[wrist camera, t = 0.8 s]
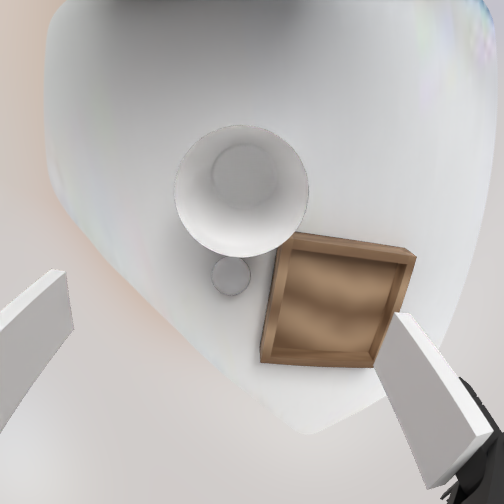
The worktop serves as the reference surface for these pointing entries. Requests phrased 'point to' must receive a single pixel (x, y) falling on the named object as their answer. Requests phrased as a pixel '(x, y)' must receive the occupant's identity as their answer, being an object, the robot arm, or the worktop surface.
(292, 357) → the tray
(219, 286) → the ball
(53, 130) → the worktop surface
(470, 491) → the robot arm
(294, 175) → the cup
